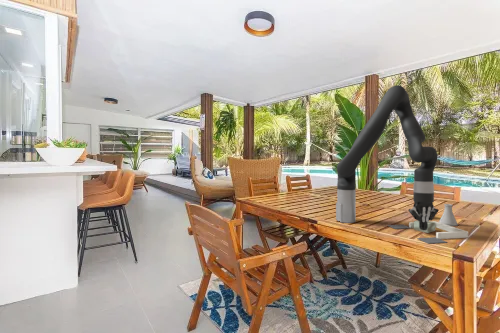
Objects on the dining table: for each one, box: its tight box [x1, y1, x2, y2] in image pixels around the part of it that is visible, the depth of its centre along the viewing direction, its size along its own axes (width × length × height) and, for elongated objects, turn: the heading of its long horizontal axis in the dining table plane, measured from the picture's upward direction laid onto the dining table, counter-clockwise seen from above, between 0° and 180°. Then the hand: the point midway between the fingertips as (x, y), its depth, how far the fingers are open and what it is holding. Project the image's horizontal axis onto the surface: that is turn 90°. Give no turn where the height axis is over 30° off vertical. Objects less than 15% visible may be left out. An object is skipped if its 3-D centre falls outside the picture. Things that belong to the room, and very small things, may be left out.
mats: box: [387, 223, 448, 245], centre depth 112 cm, size 8×26×1 cm, turn 4°
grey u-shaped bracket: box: [408, 220, 469, 240], centre depth 113 cm, size 14×17×2 cm
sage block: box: [413, 220, 436, 234], centre depth 116 cm, size 6×6×4 cm
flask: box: [438, 203, 459, 227], centre depth 125 cm, size 7×7×10 cm
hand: (423, 229), depth 112 cm, fingers closed
